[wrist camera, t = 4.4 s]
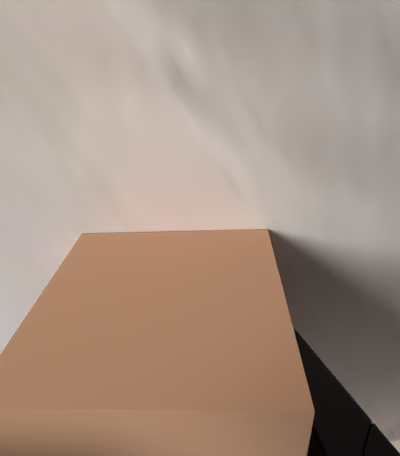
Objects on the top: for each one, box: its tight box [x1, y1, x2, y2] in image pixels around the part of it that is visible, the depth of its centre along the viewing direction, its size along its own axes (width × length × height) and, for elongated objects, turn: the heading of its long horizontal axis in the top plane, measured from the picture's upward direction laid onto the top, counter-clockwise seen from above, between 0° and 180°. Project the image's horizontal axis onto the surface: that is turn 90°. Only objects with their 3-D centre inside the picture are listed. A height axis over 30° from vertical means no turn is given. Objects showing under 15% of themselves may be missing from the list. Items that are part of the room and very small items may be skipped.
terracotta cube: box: [0, 229, 315, 456], centre depth 8 cm, size 5×5×5 cm
